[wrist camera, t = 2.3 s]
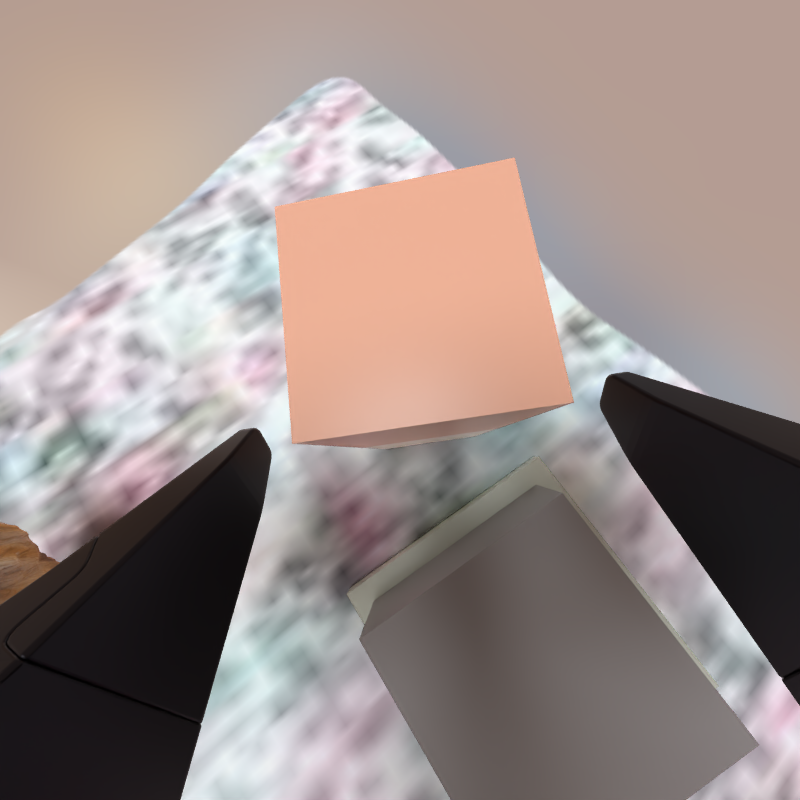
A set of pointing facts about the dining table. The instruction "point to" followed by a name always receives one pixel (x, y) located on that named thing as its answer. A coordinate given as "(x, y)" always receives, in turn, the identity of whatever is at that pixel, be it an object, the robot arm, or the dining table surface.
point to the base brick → (540, 658)
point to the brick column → (416, 312)
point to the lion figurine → (19, 561)
